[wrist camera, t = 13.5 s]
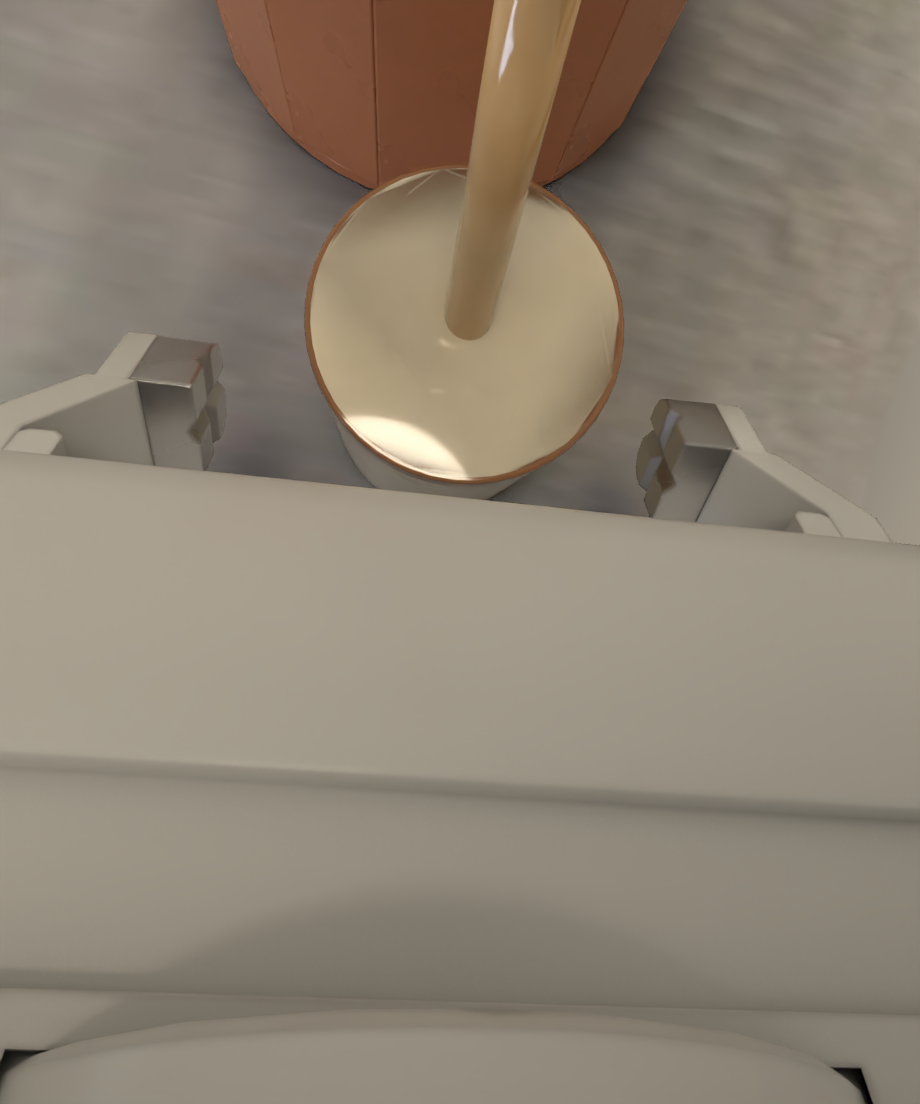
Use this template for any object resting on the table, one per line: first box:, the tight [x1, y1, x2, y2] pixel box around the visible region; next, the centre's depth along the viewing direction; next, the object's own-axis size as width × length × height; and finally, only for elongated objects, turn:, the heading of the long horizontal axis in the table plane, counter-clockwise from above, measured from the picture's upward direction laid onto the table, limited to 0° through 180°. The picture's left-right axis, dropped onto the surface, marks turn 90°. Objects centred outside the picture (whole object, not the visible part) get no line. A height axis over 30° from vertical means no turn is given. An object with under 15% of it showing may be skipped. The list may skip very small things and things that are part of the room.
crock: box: [304, 0, 624, 500], centre depth 11 cm, size 7×6×17 cm
